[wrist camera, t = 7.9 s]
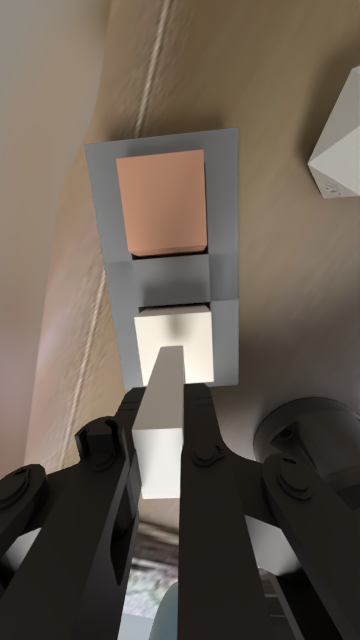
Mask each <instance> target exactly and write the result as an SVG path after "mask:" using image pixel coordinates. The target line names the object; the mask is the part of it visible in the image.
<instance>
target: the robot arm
mask: <svg viewBox="0 0 360 640" xmlns="http://www.w3.org/2000/svg"><path fill="white" fill-rule="evenodd" d="M75 440H76V444H77V448H78V452H79V456H80V459H81V460H80V461H79V463H78V464H75V465H73V466H71V467H68V468H65V469H62V470H59V471H56V472H54V473H51V474H48V475H46V472H45V469H44V467H42V466H41V465H40V464H30V465H27V466H24V467H21V468H19V469H17V470H15V471H13V472H11V473H10V474H8V475H6V476H5V477H4V478H2V479H1V480H0V640H117V638H118V632H119V627H120V622H121V616H122V611H123V606H124V600H125V595H126V589H127V584H128V578H129V573H130V567H131V562H132V557H133V551H134V546H135V540H136V535H137V529H138V524H139V511H138V501H139V496H140V491H141V490H142V496H143V499H154V498H180V515H179V565H178V582H176V583H174V584H173V585H172V586H171V587H170V588H169V589H168V590H167V592H166V593H165V595H164V597H163V599H162V601H161V603H160V605H159V608H158V611H157V613H156V616H155V619H154V622H153V626H152V630H151V633H150V637H149V640H360V416H358V415H357V414H356V413H354V412H353V411H352V410H351V409H349V408H348V407H347V406H345V405H343V404H341V403H339V402H337V401H334V400H330V399H325V398H306V399H300V400H296V401H293V402H290V403H288V404H285V405H283V406H282V407H280V408H278V409H277V410H275V411H274V412H272V413H271V414H270V415H269V416H268V417H267V418H266V419H265V420H264V421H263V422H262V424H261V425H260V427H259V429H258V430H257V433H256V435H255V439H254V455H255V458H256V461H257V462H256V461H253V460H249V459H246V458H243V457H241V456H239V455H237V454H235V453H234V452H232V451H231V450H230V449H229V448H228V447H227V446H226V444H225V443H224V441H223V439H222V437H221V434H220V429H219V425H218V421H217V417H216V413H215V409H214V405H213V400H212V396H211V392H210V389H209V388H208V387H207V385H206V384H205V383H192V384H186V377H185V364H184V350H183V345H178V346H163V347H160V350H159V353H158V356H157V359H156V361H155V364H154V367H153V370H152V373H151V376H150V379H149V382H148V385H147V387H133V388H132V389H131V390H130V391H129V392H128V393H127V394H125V396H124V398H123V400H122V402H121V404H120V406H119V408H118V411H117V412H116V414H115V416H114V417H113V416H106V417H100V418H98V419H95V420H93V421H91V422H89V423H88V424H86V425H85V426H83V427H82V428H81V429H80V430H79V431H78V432H77V433H76V434H75ZM258 567H259V568H258Z"/></svg>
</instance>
